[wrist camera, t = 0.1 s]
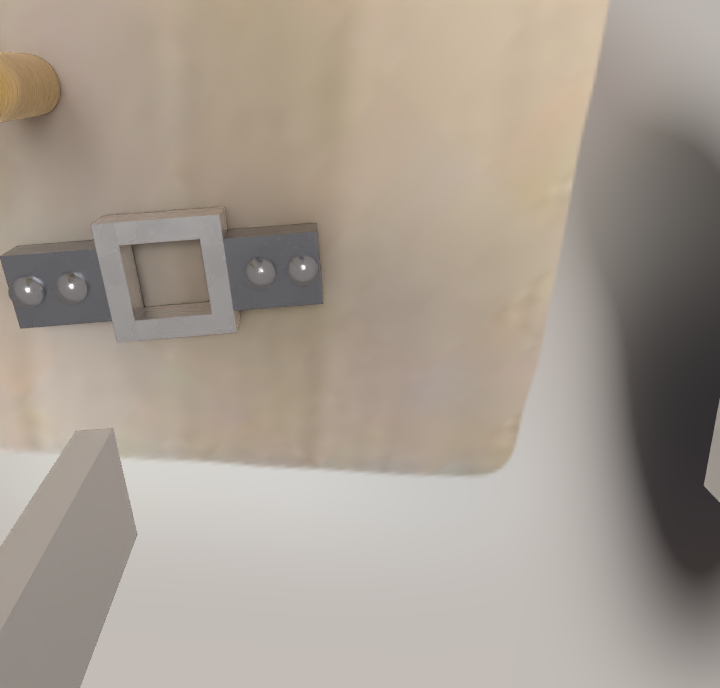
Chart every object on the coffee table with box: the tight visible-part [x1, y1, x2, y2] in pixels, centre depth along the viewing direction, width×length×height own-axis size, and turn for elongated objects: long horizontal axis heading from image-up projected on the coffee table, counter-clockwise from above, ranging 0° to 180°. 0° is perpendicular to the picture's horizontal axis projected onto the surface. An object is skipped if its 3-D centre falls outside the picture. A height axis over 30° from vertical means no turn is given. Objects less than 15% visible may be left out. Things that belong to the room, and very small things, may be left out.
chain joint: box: [0, 207, 323, 342], centre depth 39 cm, size 18×7×3 cm, turn 94°
